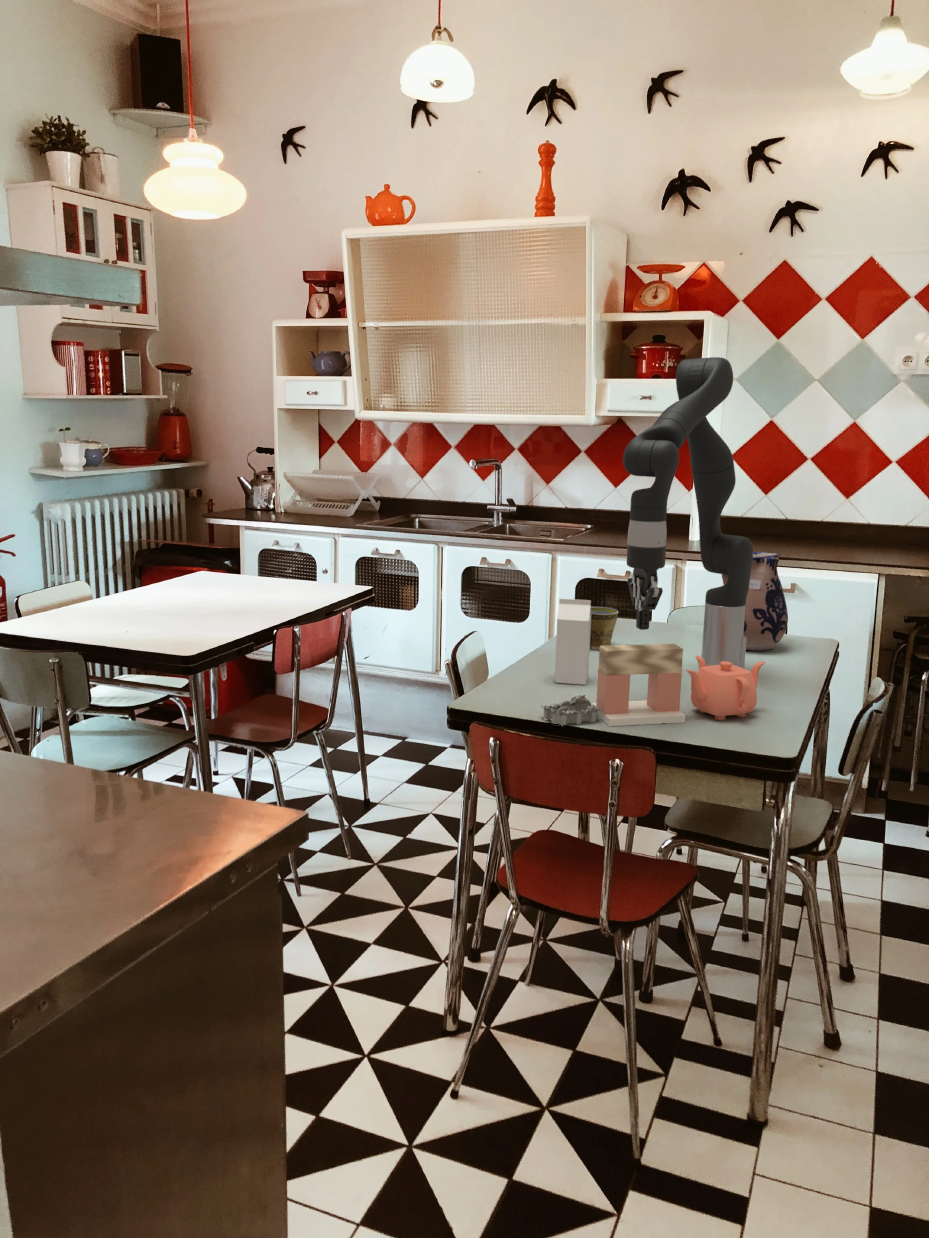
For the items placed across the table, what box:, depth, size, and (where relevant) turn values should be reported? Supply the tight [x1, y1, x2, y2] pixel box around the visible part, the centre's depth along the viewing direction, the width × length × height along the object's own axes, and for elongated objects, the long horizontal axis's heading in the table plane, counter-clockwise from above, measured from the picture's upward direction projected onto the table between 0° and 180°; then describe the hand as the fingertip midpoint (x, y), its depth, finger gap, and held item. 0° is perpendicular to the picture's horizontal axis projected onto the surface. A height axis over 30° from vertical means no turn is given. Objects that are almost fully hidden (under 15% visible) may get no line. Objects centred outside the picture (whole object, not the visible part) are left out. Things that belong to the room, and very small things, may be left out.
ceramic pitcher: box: [721, 551, 789, 651], centre depth 261 cm, size 18×21×25 cm
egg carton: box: [541, 694, 600, 727], centre depth 198 cm, size 11×8×4 cm
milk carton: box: [554, 598, 592, 686], centre depth 225 cm, size 7×7×19 cm
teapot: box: [685, 655, 766, 721], centre depth 203 cm, size 14×14×11 cm
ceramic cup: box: [590, 606, 619, 651], centre depth 259 cm, size 13×10×10 cm
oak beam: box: [598, 643, 684, 676], centre depth 198 cm, size 16×4×5 cm, turn 101°
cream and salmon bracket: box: [591, 668, 686, 727], centre depth 200 cm, size 16×11×10 cm
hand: (642, 628), depth 197 cm, fingers closed
